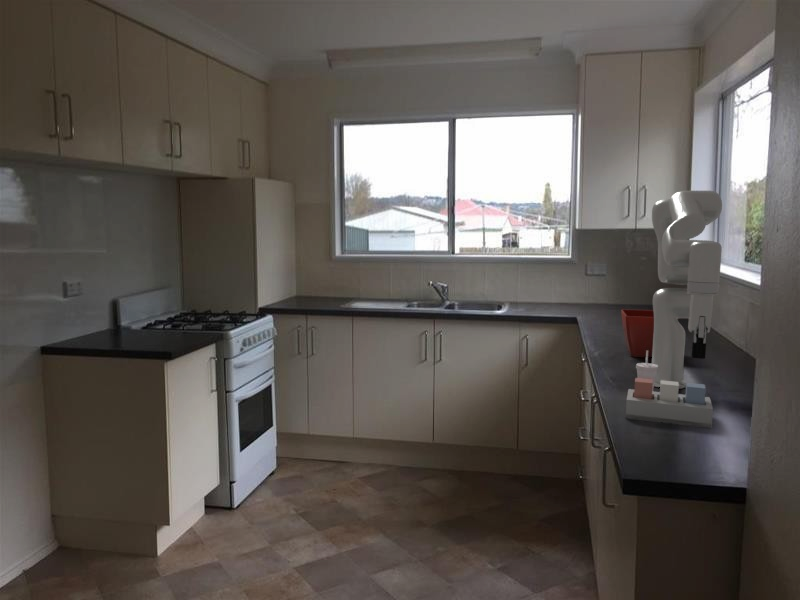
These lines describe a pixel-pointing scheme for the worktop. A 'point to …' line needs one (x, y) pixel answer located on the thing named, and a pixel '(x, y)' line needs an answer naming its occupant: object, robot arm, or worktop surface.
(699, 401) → the blue key
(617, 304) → the worktop surface
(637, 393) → the red key
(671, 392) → the white key
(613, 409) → the worktop surface
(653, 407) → the keypad housing
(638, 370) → the smoothie
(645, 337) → the plant pot
